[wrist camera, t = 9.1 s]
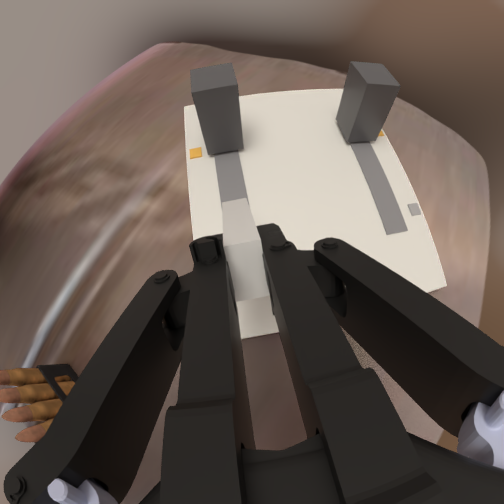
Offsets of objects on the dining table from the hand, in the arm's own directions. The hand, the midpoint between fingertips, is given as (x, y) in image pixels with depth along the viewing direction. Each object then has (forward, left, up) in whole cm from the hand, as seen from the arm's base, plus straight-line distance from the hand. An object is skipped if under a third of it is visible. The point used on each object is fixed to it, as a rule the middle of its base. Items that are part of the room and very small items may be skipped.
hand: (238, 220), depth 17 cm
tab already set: (-3, +18, -5) cm, 19 cm away
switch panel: (-2, +9, -8) cm, 12 cm away
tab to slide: (-10, +6, -5) cm, 13 cm away
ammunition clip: (+2, -21, -8) cm, 23 cm away
